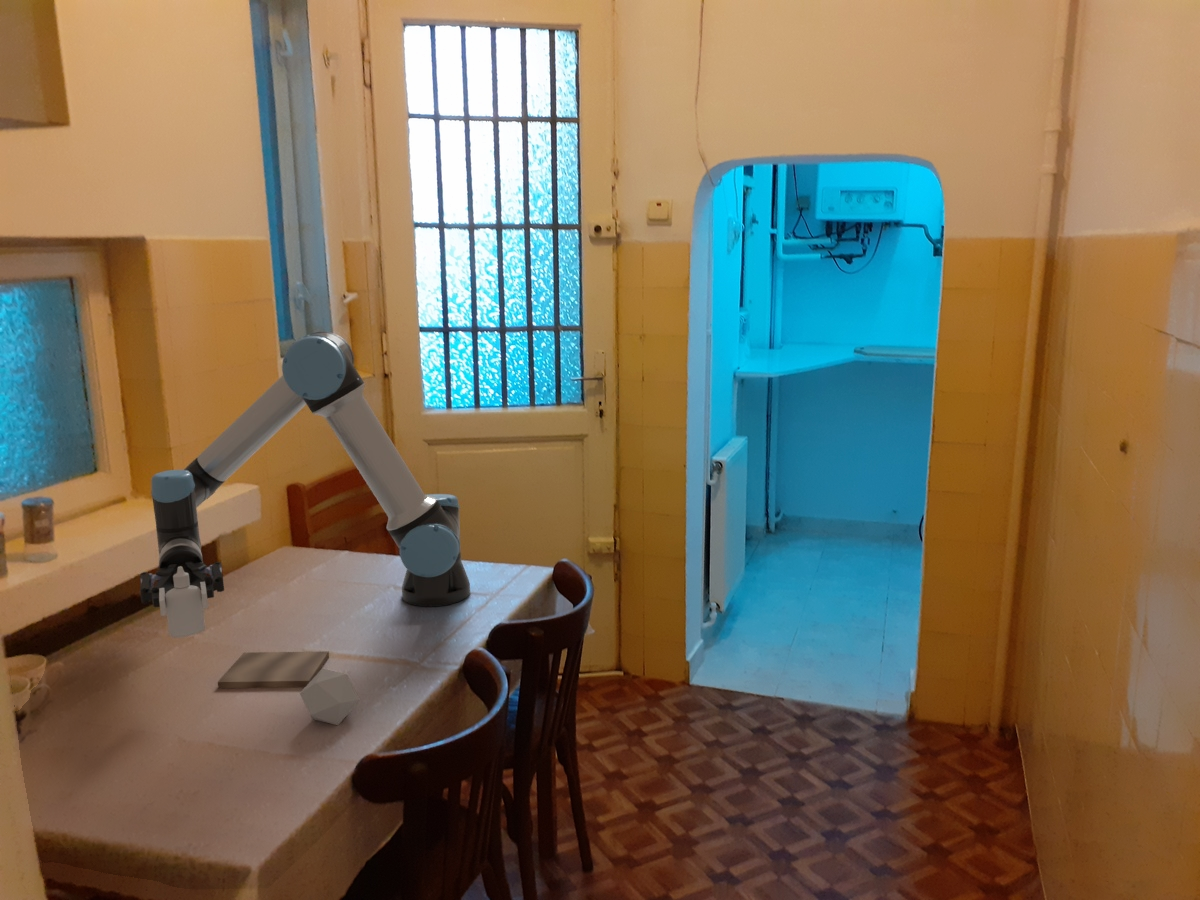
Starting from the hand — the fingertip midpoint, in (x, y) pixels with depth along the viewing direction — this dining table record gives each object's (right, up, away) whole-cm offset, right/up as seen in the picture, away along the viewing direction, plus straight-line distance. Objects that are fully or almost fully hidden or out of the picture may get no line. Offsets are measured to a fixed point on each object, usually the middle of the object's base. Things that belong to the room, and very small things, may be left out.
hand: (184, 604), depth 145 cm
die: (+25, -19, -2) cm, 31 cm away
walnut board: (+10, -15, +15) cm, 23 cm away
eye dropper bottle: (-2, -6, +6) cm, 9 cm away
